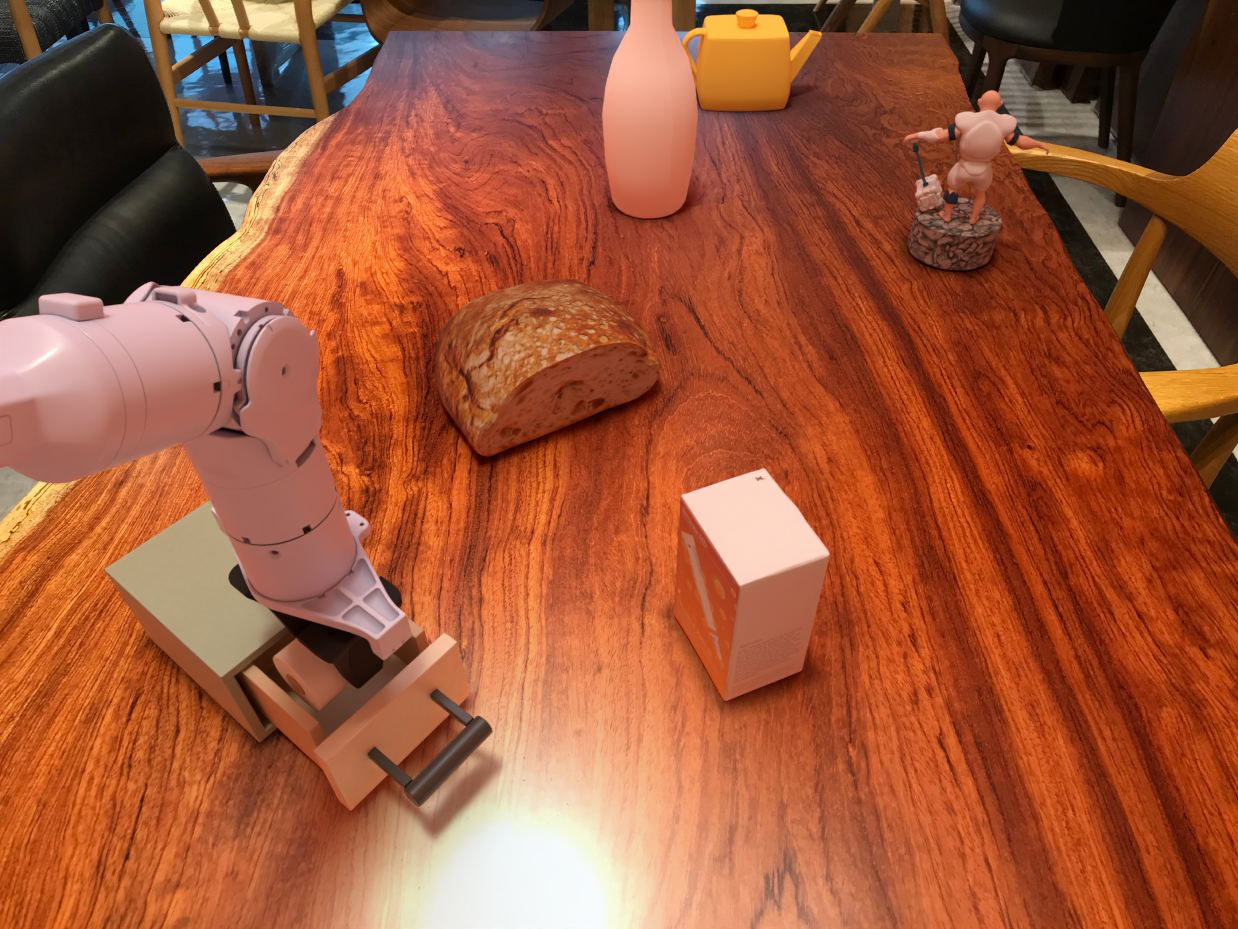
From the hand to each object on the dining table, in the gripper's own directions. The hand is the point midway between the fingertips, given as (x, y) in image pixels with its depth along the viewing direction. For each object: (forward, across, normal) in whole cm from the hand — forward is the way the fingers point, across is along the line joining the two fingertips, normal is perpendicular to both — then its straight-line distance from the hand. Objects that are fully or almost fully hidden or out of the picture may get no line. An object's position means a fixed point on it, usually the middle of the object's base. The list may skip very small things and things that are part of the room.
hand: (342, 654), depth 54 cm
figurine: (+7, -7, -79) cm, 80 cm away
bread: (+7, +15, -34) cm, 38 cm away
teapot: (+7, +36, -103) cm, 109 cm away
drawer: (+6, -1, 0) cm, 6 cm away
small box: (+7, -16, -20) cm, 27 cm away
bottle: (+7, +28, -68) cm, 74 cm away
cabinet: (+7, +11, 0) cm, 13 cm away
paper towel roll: (-1, +2, 0) cm, 2 cm away
